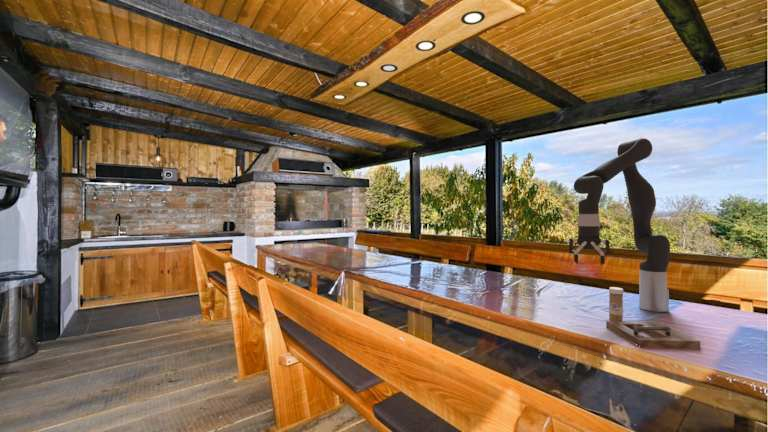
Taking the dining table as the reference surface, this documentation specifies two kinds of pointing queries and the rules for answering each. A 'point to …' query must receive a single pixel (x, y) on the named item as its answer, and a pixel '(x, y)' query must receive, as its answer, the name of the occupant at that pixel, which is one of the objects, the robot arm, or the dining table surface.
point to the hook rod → (666, 328)
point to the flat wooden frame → (658, 337)
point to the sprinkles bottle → (615, 304)
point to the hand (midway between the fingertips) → (589, 264)
